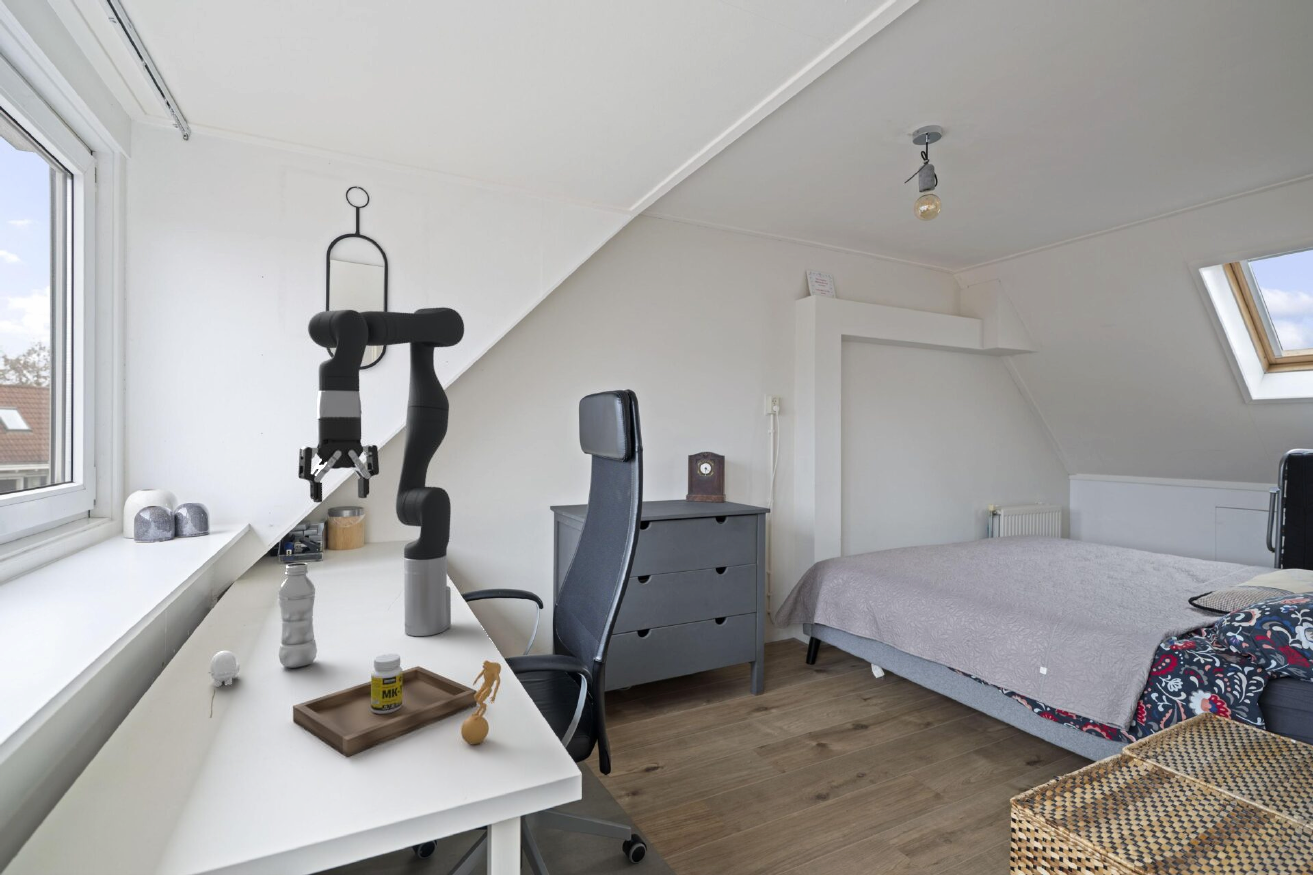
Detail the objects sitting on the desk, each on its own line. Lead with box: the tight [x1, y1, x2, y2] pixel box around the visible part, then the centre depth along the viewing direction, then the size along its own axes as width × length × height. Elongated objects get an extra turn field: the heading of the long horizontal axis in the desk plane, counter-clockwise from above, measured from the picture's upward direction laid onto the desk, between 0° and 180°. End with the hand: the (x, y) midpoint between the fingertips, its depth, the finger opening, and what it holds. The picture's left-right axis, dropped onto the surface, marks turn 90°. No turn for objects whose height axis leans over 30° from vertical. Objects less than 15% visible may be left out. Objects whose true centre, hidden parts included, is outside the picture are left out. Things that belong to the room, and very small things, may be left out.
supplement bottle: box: [370, 653, 403, 714], centre depth 107 cm, size 5×5×8 cm
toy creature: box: [208, 650, 241, 687], centre depth 120 cm, size 5×8×6 cm, turn 24°
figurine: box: [460, 659, 502, 745], centre depth 98 cm, size 8×6×12 cm
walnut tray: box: [292, 665, 478, 758], centre depth 107 cm, size 22×18×2 cm
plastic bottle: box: [277, 562, 318, 669], centre depth 128 cm, size 6×7×20 cm
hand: (340, 500), depth 125 cm, fingers open, 8 cm apart
